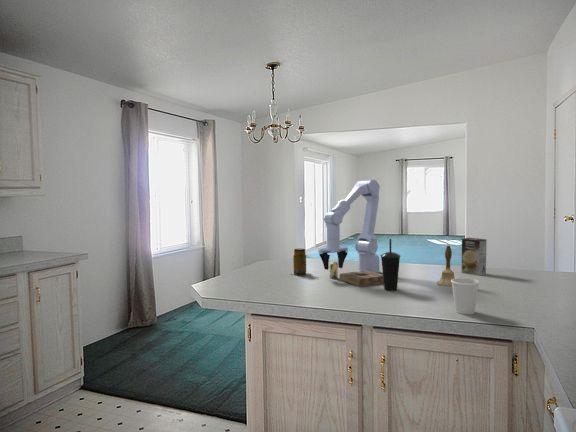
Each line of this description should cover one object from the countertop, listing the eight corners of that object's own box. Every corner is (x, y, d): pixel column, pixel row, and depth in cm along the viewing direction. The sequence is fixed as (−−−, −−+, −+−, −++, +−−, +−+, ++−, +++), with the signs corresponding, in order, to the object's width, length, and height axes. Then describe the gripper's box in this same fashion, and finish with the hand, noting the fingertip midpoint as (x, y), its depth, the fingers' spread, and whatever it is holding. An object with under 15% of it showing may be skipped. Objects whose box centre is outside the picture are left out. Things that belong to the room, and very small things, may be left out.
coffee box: (460, 272, 200) (460, 238, 199) (468, 271, 203) (468, 237, 202) (478, 275, 192) (479, 240, 191) (486, 273, 196) (487, 239, 195)
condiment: (300, 272, 209) (300, 247, 208) (312, 274, 202) (312, 249, 202) (289, 274, 204) (288, 249, 203) (301, 276, 198) (300, 250, 197)
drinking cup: (401, 288, 170) (401, 238, 169) (399, 292, 163) (399, 240, 162) (381, 286, 173) (381, 237, 172) (379, 291, 166) (379, 239, 165)
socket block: (365, 277, 193) (365, 270, 193) (385, 282, 181) (385, 275, 181) (339, 280, 187) (339, 273, 187) (359, 286, 175) (359, 279, 174)
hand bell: (459, 283, 178) (459, 244, 177) (457, 287, 170) (458, 247, 169) (438, 281, 181) (438, 244, 180) (436, 285, 174) (436, 246, 173)
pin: (334, 276, 195) (334, 261, 195) (339, 278, 192) (339, 262, 192) (328, 277, 193) (328, 262, 193) (332, 279, 190) (332, 263, 190)
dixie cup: (450, 314, 133) (450, 282, 133) (450, 307, 141) (450, 277, 141) (480, 316, 130) (480, 284, 130) (478, 309, 138) (478, 278, 138)
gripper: (341, 236, 199) (341, 265, 199) (314, 238, 192) (315, 268, 193) (350, 238, 192) (350, 268, 193) (323, 240, 186) (323, 271, 186)
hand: (333, 268), depth 192 cm, fingers open, 7 cm apart
